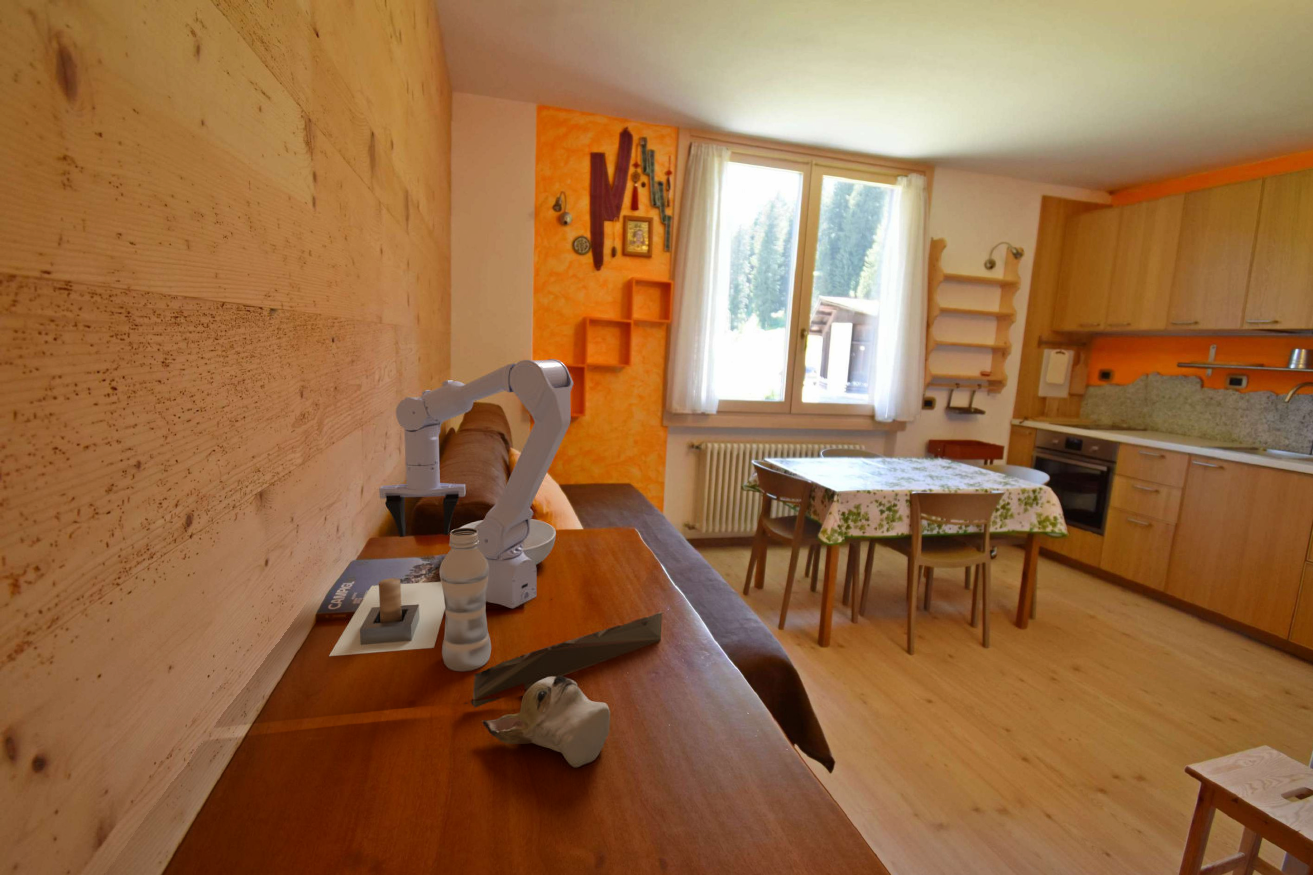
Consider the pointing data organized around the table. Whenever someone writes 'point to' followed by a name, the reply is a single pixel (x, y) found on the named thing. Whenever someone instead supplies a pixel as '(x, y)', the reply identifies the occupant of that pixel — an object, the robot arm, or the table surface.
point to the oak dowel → (390, 600)
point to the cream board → (411, 594)
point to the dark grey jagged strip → (566, 657)
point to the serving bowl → (534, 540)
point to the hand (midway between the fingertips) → (424, 534)
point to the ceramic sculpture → (556, 721)
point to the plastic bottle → (465, 602)
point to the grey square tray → (389, 626)
